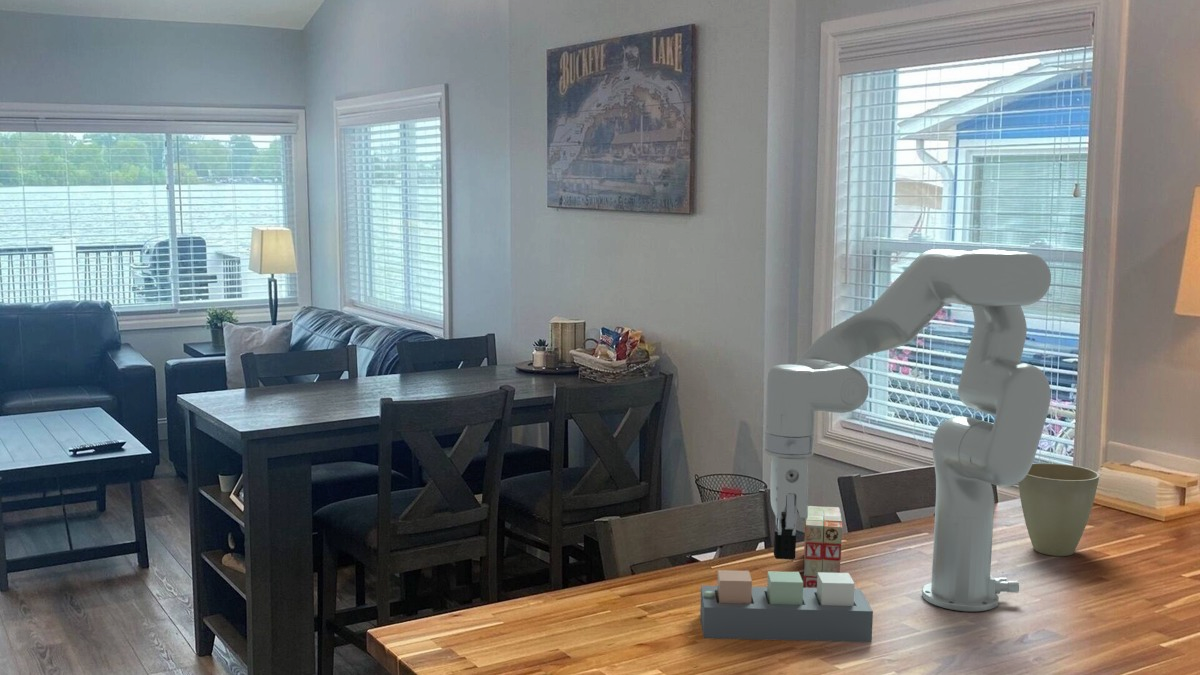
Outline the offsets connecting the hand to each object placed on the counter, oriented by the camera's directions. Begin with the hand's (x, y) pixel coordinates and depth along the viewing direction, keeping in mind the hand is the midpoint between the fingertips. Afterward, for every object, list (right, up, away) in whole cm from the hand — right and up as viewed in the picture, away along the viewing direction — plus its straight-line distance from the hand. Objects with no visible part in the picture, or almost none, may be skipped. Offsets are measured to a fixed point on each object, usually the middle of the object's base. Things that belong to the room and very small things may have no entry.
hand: (784, 557), depth 182 cm
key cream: (+8, -8, +1) cm, 12 cm away
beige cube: (-8, -8, +1) cm, 11 cm away
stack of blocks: (+11, -9, +29) cm, 32 cm away
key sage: (0, -8, +1) cm, 8 cm away
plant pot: (+60, -7, +43) cm, 74 cm away
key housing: (0, -12, +2) cm, 12 cm away
